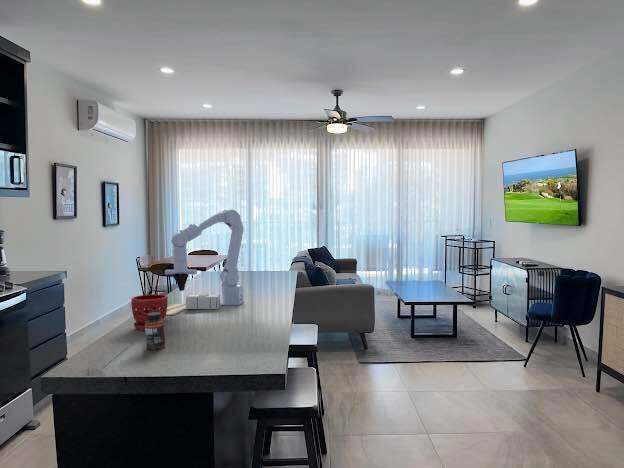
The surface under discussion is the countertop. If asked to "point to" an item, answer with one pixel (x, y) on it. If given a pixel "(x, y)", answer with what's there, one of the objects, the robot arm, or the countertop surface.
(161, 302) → the plant pot
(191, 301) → the syrup box
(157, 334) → the supplement bottle
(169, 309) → the wooden board
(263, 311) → the countertop surface
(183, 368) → the countertop surface
